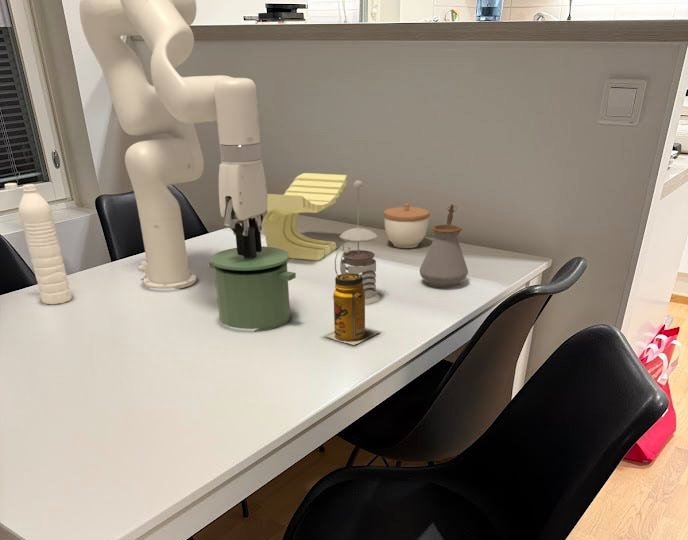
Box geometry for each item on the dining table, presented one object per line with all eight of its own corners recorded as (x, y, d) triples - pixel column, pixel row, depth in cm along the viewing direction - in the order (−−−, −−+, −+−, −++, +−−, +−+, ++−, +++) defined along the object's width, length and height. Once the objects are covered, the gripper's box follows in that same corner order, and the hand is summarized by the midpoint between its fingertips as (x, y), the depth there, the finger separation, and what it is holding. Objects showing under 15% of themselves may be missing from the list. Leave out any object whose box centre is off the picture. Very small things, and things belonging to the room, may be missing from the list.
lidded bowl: (430, 250, 187) (432, 208, 181) (384, 251, 187) (384, 209, 181) (425, 238, 197) (427, 199, 192) (382, 239, 198) (383, 199, 192)
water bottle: (77, 296, 158) (51, 181, 144) (62, 305, 152) (33, 187, 139) (43, 294, 159) (14, 181, 146) (27, 303, 154) (-5, 186, 141)
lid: (260, 277, 128) (257, 241, 125) (195, 267, 135) (191, 232, 131) (303, 257, 140) (302, 223, 136) (242, 248, 146) (239, 216, 143)
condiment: (325, 337, 134) (323, 277, 128) (352, 325, 139) (352, 267, 133) (353, 346, 130) (353, 284, 124) (380, 333, 135) (381, 273, 129)
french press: (389, 296, 154) (391, 179, 141) (354, 309, 147) (353, 188, 134) (357, 287, 160) (356, 174, 147) (322, 300, 153) (318, 182, 140)
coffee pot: (465, 291, 157) (471, 224, 149) (416, 289, 159) (418, 222, 151) (471, 265, 174) (476, 204, 166) (426, 263, 176) (429, 203, 168)
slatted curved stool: (297, 236, 202) (294, 172, 192) (347, 240, 197) (346, 175, 187) (250, 263, 178) (244, 192, 169) (305, 269, 173) (302, 195, 164)
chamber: (275, 338, 134) (271, 281, 128) (196, 322, 142) (188, 267, 136) (313, 315, 145) (311, 261, 139) (237, 301, 153) (232, 249, 147)
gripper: (249, 147, 134) (257, 241, 144) (197, 158, 122) (209, 261, 132) (281, 149, 131) (287, 245, 141) (230, 161, 119) (241, 266, 129)
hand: (249, 252), depth 136 cm, fingers closed on lid, 2 cm apart
